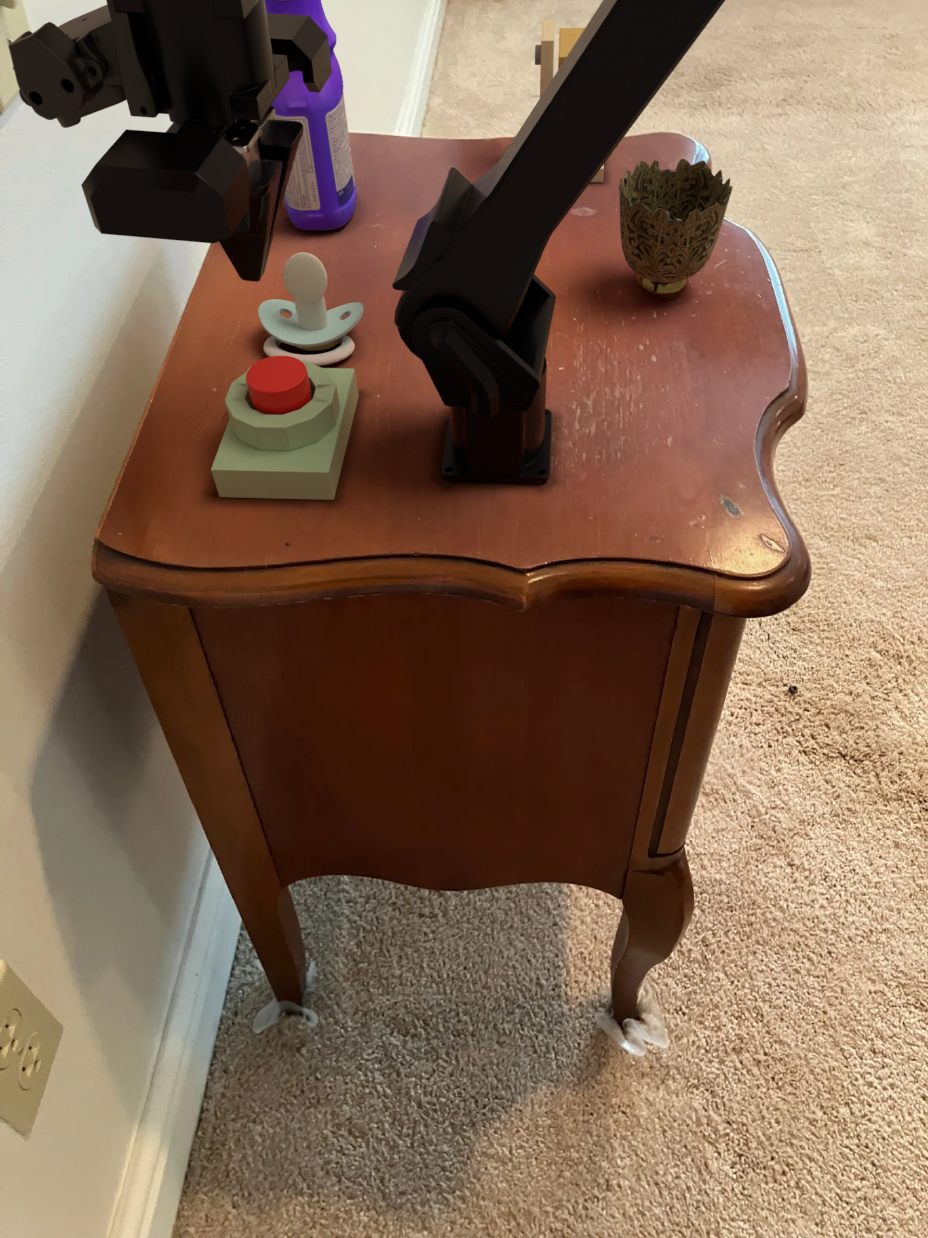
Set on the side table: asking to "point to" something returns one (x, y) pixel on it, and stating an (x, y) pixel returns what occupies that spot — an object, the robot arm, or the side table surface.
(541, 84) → the egg display stand
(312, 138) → the bottle
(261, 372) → the alarm button
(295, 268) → the pacifier
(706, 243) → the cup
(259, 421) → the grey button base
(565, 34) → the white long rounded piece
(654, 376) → the side table surface
